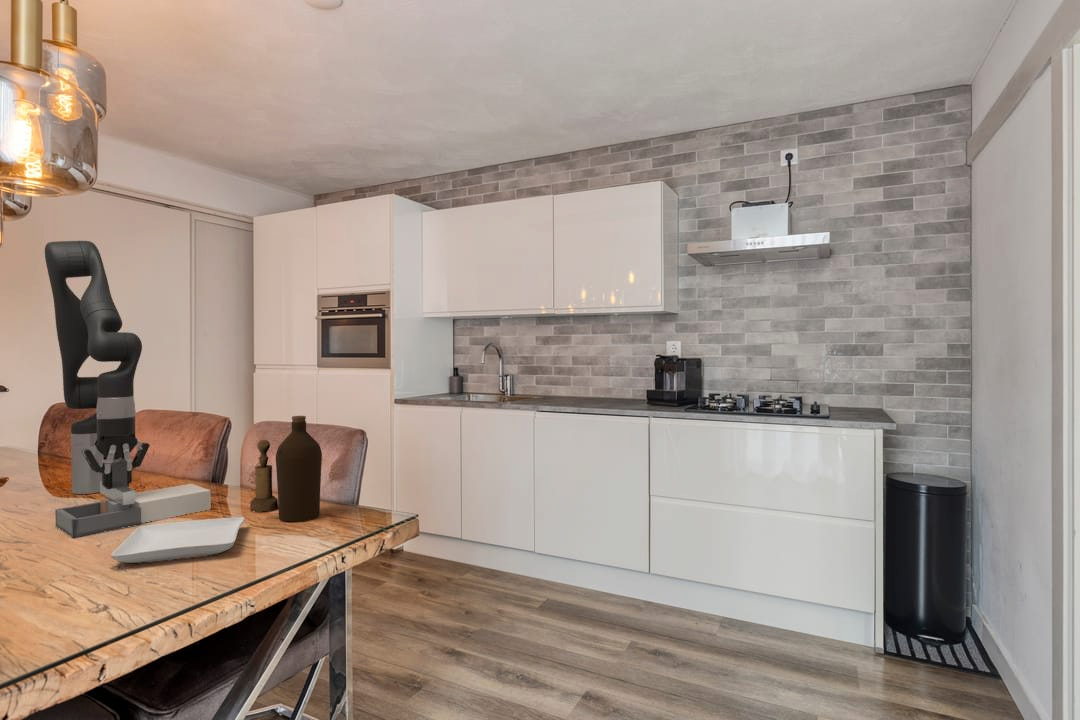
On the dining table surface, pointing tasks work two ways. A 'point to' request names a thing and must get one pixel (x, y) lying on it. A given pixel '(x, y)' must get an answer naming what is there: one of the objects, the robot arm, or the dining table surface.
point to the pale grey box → (115, 506)
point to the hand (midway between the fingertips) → (117, 487)
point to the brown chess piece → (263, 482)
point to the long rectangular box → (171, 502)
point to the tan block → (104, 504)
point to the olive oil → (298, 474)
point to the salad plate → (179, 540)
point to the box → (94, 519)
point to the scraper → (119, 484)
